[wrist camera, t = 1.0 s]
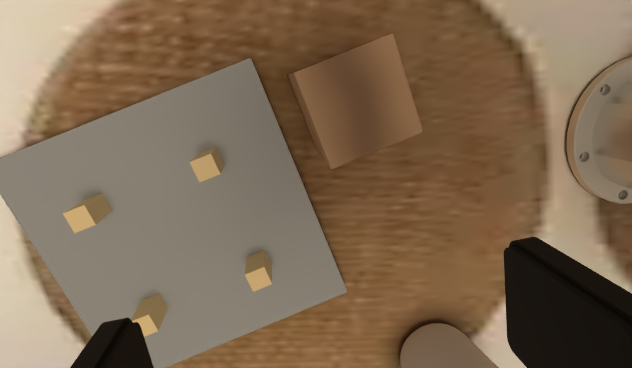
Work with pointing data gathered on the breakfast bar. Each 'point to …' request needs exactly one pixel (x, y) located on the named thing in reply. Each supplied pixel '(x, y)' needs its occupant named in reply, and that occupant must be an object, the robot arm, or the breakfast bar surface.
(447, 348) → the cup
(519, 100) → the breakfast bar surface
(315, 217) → the base board
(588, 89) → the robot arm
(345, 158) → the walnut block
